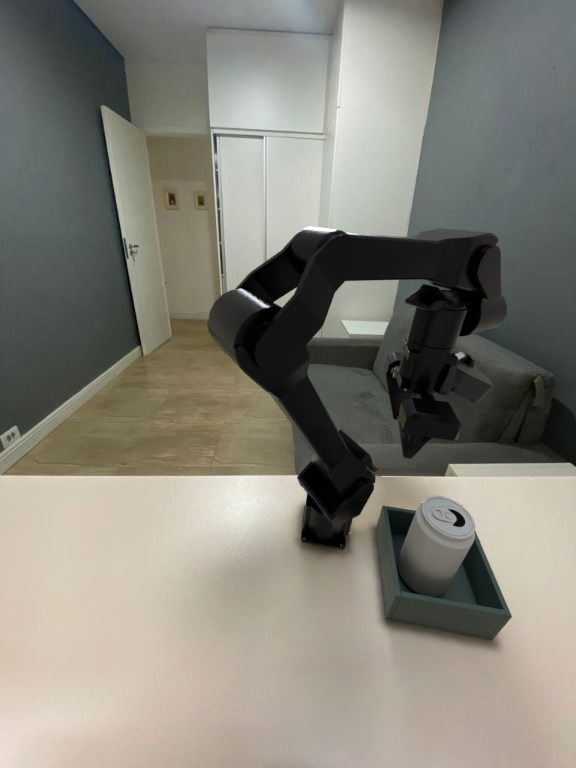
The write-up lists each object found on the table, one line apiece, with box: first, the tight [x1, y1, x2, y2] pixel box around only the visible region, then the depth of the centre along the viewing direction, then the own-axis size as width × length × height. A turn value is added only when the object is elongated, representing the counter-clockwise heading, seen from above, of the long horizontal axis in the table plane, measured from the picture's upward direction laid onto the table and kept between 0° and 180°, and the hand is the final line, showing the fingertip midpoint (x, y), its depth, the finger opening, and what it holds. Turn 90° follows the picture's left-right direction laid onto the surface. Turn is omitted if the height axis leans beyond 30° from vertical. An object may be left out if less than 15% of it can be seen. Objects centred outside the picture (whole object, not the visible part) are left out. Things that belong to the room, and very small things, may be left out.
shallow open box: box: [374, 505, 513, 641], centre depth 40 cm, size 12×12×6 cm
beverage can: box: [397, 495, 476, 597], centre depth 38 cm, size 6×6×12 cm
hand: (401, 436), depth 47 cm, fingers open, 9 cm apart
